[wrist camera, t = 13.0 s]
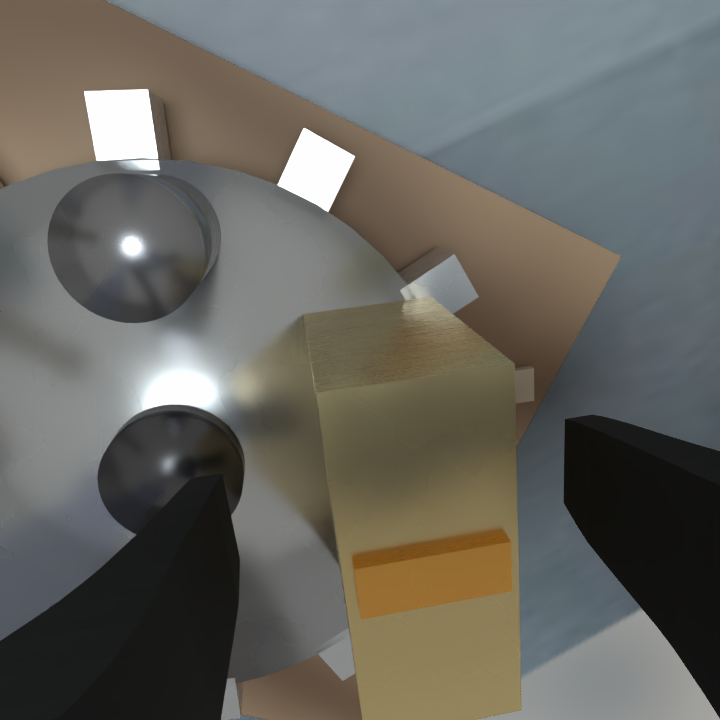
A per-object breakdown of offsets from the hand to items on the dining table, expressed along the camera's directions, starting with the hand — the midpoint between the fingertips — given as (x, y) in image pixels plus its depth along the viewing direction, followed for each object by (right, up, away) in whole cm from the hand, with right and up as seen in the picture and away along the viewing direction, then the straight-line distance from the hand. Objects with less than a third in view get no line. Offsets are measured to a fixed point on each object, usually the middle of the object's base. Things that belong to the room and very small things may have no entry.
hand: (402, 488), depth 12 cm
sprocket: (-6, +1, +3) cm, 6 cm away
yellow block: (0, +1, +2) cm, 3 cm away
